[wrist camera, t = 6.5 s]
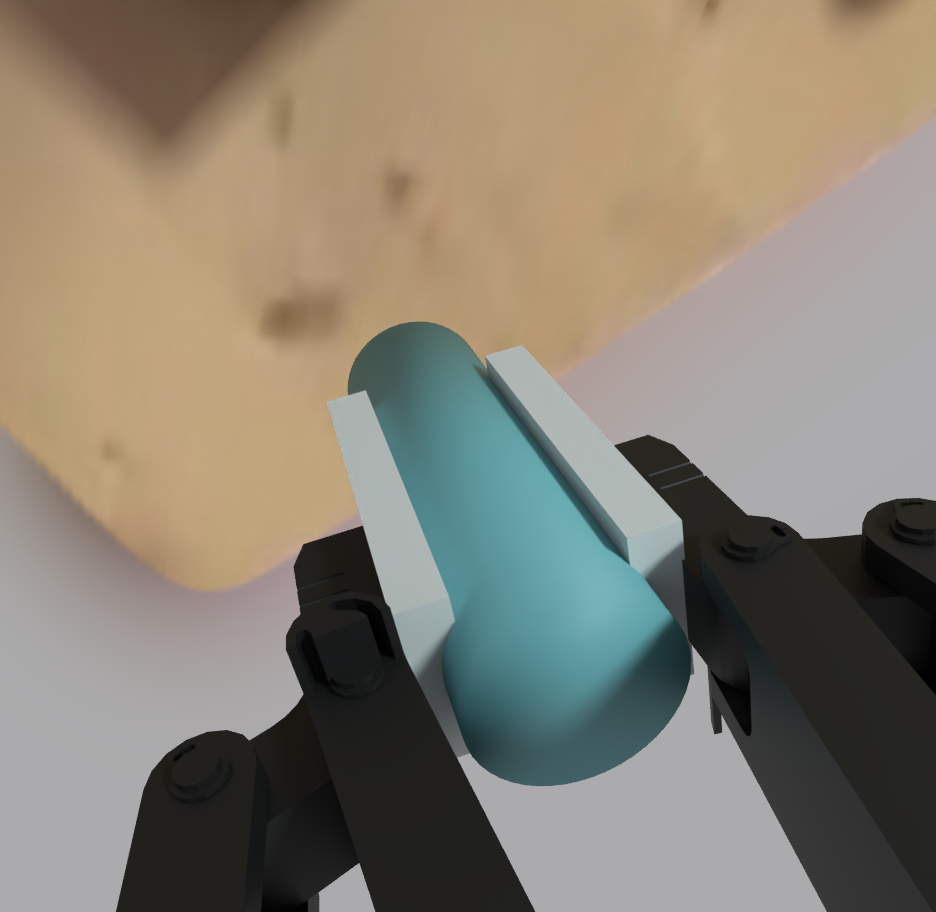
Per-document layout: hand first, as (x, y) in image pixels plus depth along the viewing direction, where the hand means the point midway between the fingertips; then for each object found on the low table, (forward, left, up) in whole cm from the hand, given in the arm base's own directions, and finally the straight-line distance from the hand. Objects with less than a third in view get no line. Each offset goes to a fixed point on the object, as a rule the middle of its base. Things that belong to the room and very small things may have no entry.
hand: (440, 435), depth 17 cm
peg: (0, 0, -3) cm, 3 cm away
